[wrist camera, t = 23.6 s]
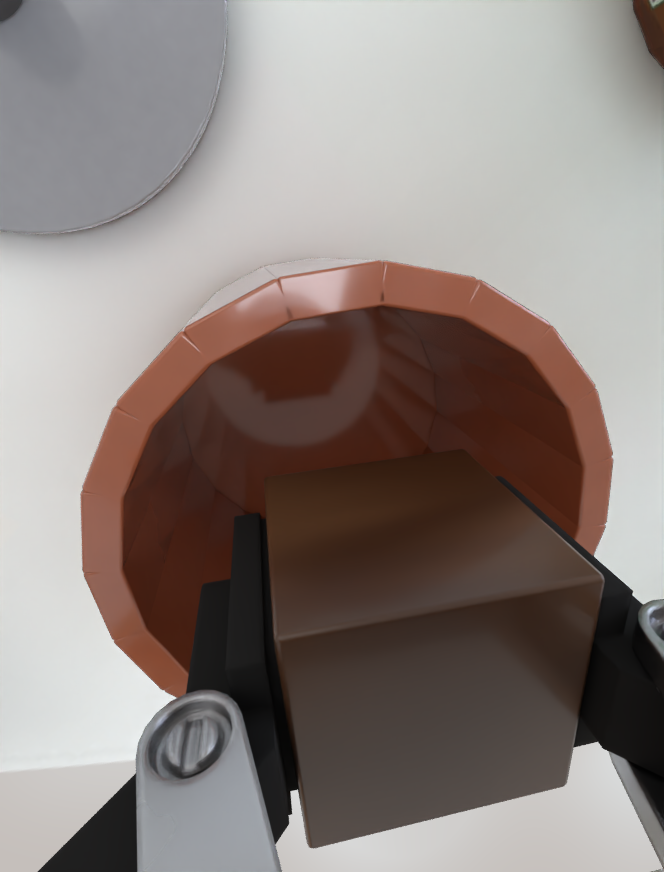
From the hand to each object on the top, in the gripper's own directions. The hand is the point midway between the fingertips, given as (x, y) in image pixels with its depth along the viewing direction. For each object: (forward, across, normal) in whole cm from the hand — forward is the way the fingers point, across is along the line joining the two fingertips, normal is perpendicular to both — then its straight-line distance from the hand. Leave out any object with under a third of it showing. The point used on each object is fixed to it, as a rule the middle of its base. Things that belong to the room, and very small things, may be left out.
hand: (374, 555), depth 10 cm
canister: (+10, 0, 0) cm, 10 cm away
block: (0, 0, 0) cm, 0 cm away
